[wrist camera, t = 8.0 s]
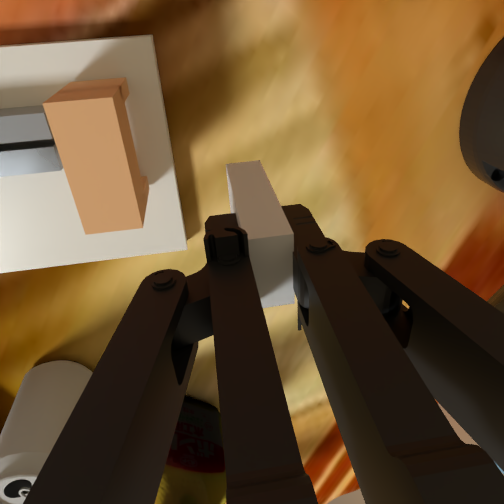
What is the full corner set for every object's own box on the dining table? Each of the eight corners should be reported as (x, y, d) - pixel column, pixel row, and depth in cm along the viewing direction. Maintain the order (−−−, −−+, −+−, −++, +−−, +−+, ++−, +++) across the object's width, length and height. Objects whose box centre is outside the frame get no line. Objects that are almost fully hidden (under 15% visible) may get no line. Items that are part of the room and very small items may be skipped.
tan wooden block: (126, 77, 26) (112, 97, 21) (149, 188, 30) (142, 228, 25) (70, 81, 25) (42, 103, 20) (102, 193, 30) (85, 234, 25)
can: (45, 344, 39) (-2, 464, 29) (115, 370, 42) (94, 486, 32) (12, 389, 41) (-42, 513, 31) (80, 410, 45) (52, 529, 35)
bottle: (119, 403, 45) (82, 642, 28) (151, 370, 43) (132, 606, 26) (203, 433, 50) (215, 649, 34) (235, 405, 48) (264, 620, 32)
